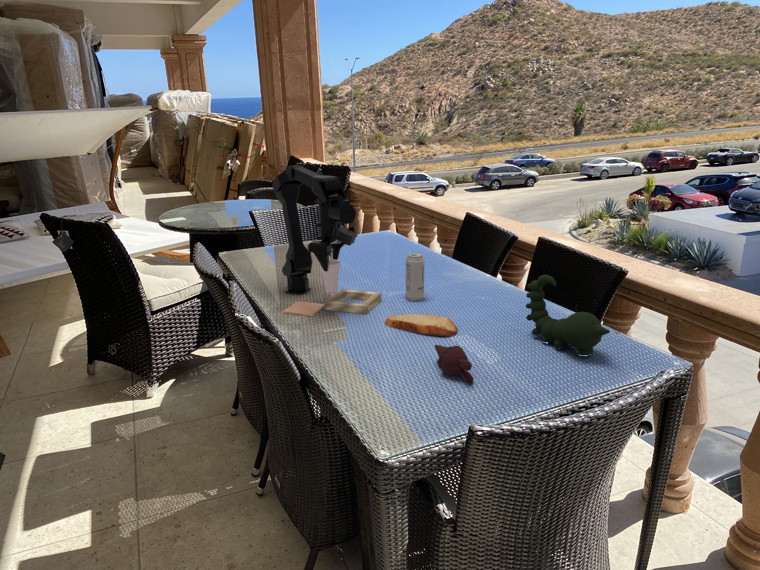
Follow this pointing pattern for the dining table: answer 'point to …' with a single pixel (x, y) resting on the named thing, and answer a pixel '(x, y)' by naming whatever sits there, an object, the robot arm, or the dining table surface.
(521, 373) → the dining table surface
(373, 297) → the holder
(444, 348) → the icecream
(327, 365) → the dining table surface
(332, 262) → the smoothie
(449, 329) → the slice of bread
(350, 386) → the dining table surface
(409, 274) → the energy drink can
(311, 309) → the coaster
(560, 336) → the toy figurine
